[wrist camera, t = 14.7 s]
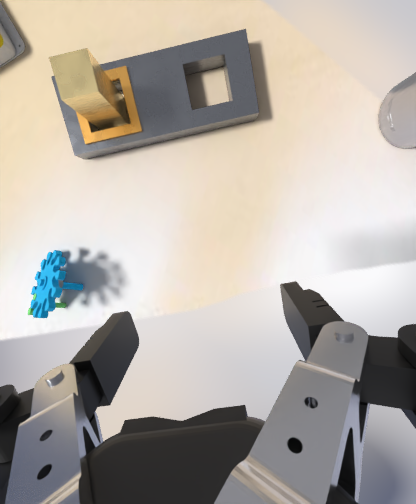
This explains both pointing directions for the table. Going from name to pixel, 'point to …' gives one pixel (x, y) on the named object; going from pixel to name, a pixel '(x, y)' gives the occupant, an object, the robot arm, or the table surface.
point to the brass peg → (89, 89)
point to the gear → (50, 286)
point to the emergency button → (9, 39)
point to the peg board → (169, 96)
